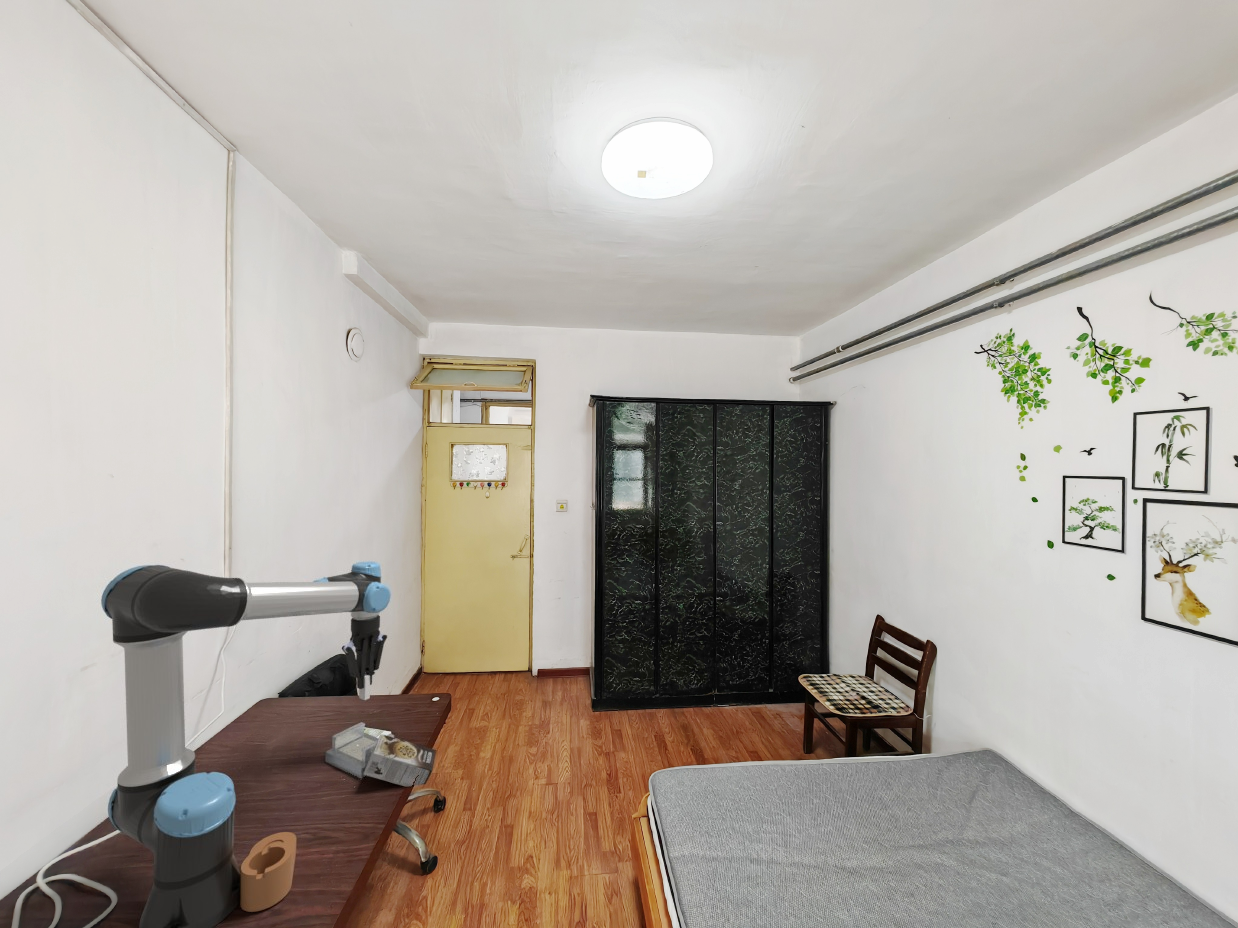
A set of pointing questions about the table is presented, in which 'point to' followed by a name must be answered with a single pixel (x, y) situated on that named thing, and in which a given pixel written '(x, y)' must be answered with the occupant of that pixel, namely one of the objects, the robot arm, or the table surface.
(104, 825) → the table surface
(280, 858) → the bracket
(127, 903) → the table surface
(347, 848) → the table surface
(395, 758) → the coffee box
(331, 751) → the aluminum channel piece
